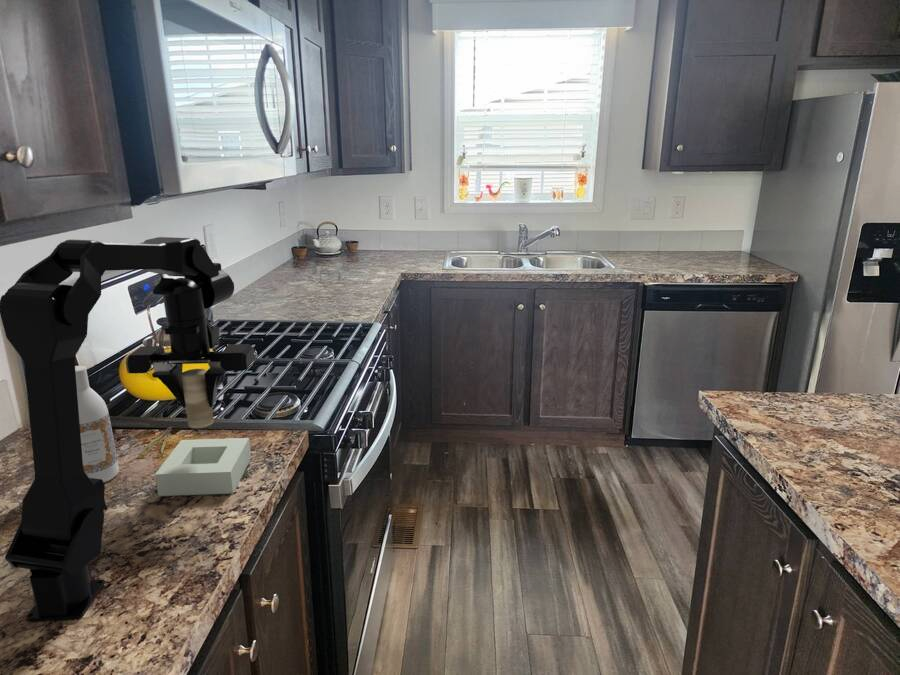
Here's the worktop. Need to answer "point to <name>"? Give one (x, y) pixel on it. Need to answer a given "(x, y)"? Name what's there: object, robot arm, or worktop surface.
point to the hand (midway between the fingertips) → (198, 406)
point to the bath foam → (95, 431)
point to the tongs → (153, 442)
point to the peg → (196, 398)
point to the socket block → (204, 467)
